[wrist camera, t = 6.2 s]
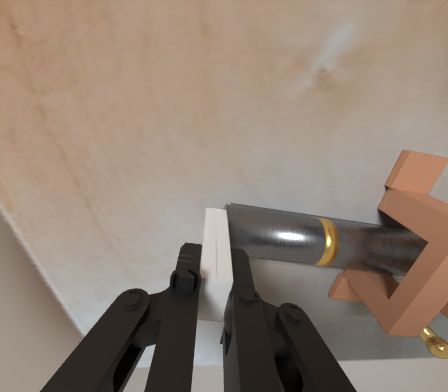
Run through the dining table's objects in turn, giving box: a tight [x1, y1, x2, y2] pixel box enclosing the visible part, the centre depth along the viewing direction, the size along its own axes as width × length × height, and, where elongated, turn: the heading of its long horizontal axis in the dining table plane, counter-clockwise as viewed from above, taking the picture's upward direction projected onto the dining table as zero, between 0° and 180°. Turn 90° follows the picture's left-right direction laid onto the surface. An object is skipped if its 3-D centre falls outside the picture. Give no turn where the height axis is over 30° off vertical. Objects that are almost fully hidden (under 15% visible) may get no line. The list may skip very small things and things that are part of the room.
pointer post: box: [393, 278, 448, 359], centre depth 18 cm, size 2×2×6 cm
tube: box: [224, 203, 429, 276], centre depth 16 cm, size 16×4×4 cm, turn 80°
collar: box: [329, 150, 448, 337], centre depth 16 cm, size 15×3×6 cm, turn 170°
